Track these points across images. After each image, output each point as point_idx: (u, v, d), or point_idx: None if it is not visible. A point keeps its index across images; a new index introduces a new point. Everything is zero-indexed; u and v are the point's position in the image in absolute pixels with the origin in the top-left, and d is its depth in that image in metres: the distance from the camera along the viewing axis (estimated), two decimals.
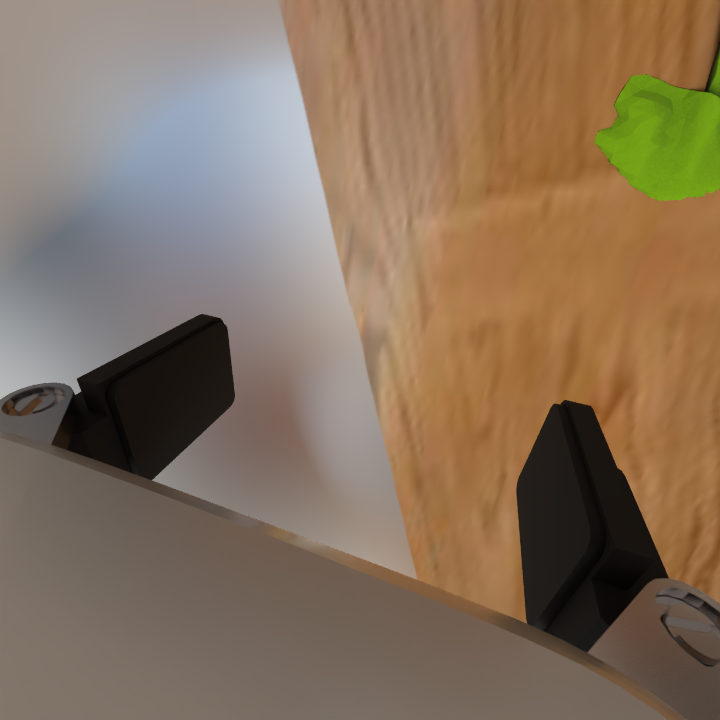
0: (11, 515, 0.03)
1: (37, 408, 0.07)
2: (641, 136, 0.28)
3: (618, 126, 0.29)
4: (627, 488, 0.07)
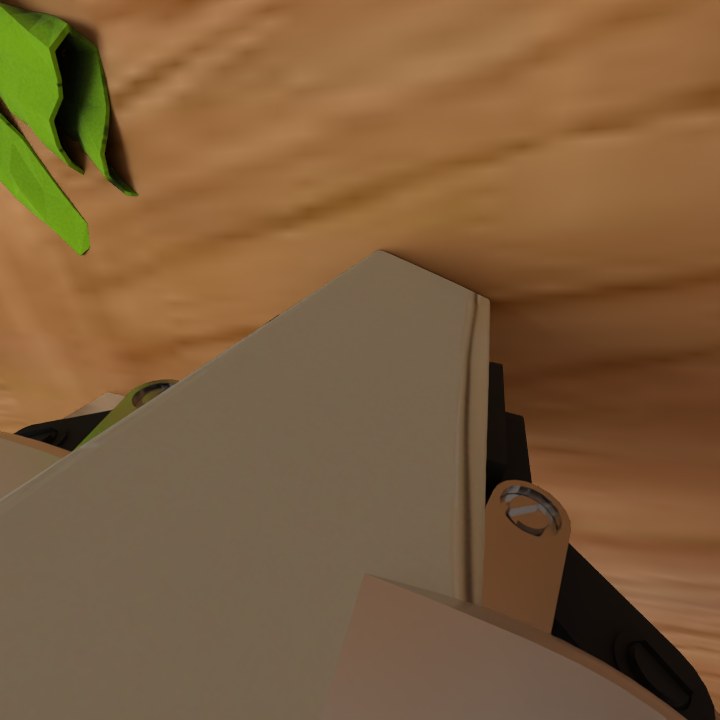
0: None
1: None
2: None
3: None
4: (522, 428, 0.08)
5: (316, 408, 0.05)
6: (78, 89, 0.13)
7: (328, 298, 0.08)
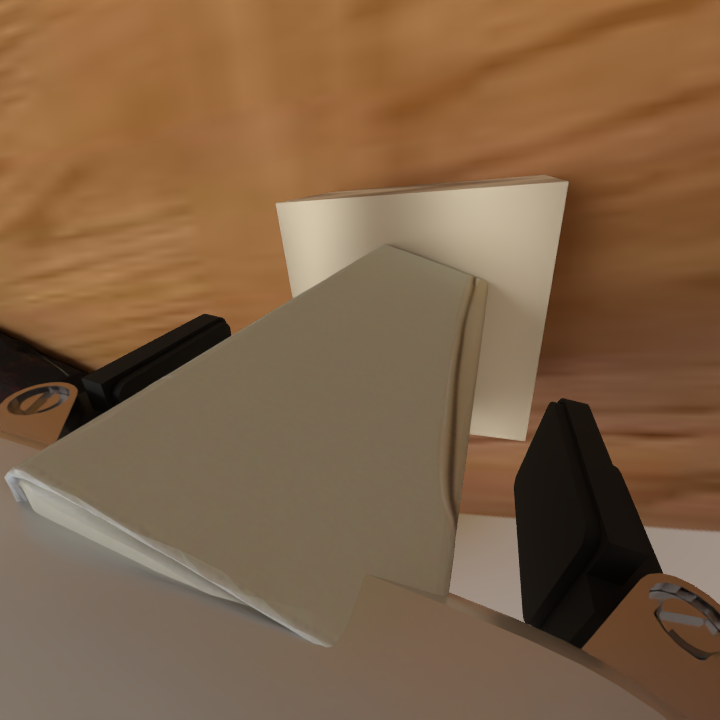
0: (11, 515, 0.03)
1: (42, 407, 0.07)
2: None
3: None
4: (623, 485, 0.07)
5: (330, 358, 0.06)
6: None
7: (338, 282, 0.09)
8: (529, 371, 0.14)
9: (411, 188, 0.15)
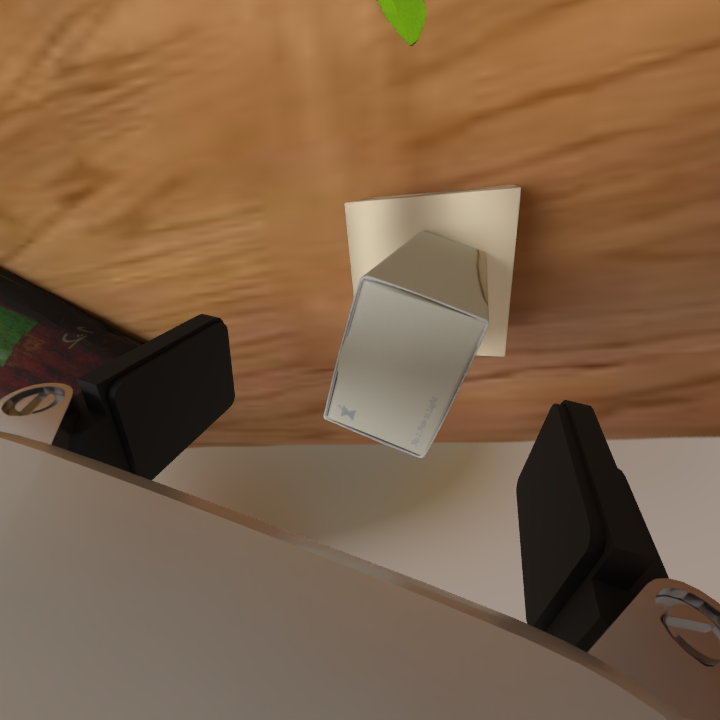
0: (11, 515, 0.03)
1: (37, 408, 0.07)
2: None
3: None
4: (627, 488, 0.07)
5: (427, 267, 0.14)
6: None
7: (412, 245, 0.17)
8: (505, 306, 0.22)
9: (427, 193, 0.23)
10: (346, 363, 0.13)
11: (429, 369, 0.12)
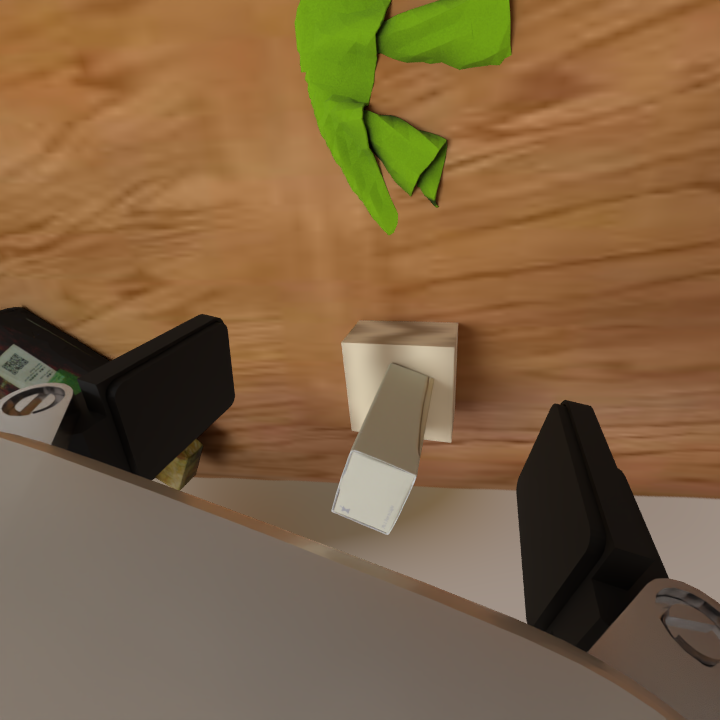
0: (11, 515, 0.03)
1: (37, 408, 0.07)
2: None
3: None
4: (627, 488, 0.07)
5: (389, 424, 0.24)
6: None
7: (382, 393, 0.27)
8: (449, 412, 0.32)
9: (398, 331, 0.34)
10: (344, 486, 0.23)
11: (388, 493, 0.22)
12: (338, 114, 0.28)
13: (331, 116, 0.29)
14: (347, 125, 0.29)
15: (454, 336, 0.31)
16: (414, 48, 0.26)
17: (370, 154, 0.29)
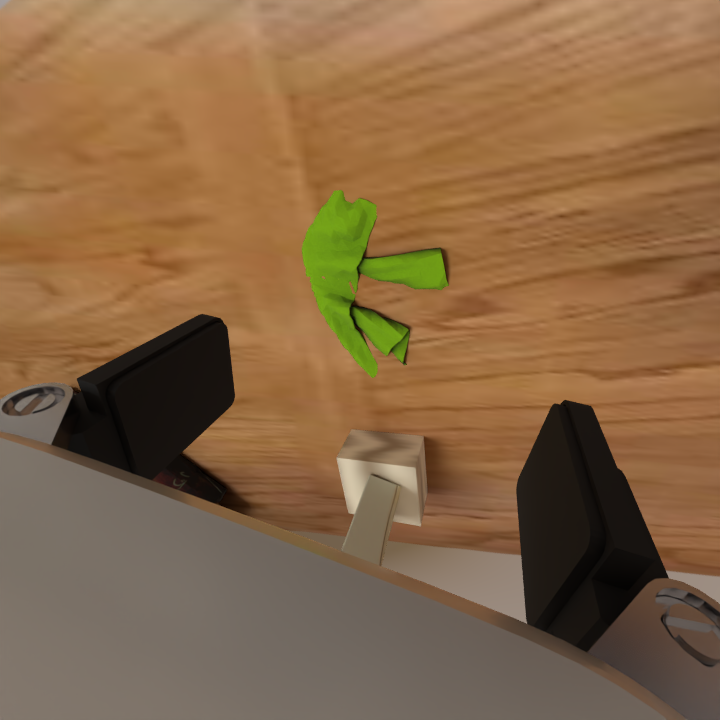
0: (11, 515, 0.03)
1: (37, 408, 0.07)
2: (335, 223, 0.36)
3: (345, 205, 0.36)
4: (627, 488, 0.07)
5: (362, 540, 0.37)
6: None
7: (360, 510, 0.39)
8: (417, 507, 0.44)
9: (378, 445, 0.46)
10: None
11: None
12: (333, 307, 0.40)
13: (328, 306, 0.41)
14: (339, 314, 0.41)
15: (417, 454, 0.43)
16: (383, 276, 0.37)
17: (356, 331, 0.41)
